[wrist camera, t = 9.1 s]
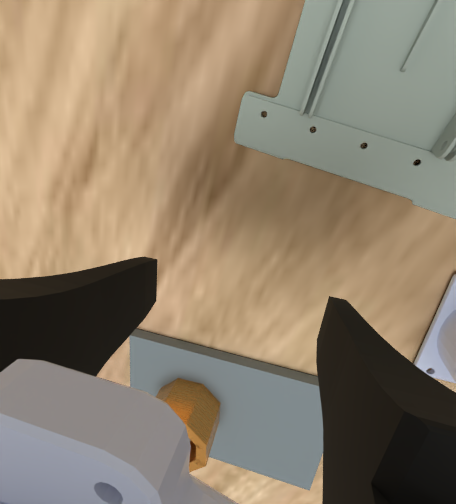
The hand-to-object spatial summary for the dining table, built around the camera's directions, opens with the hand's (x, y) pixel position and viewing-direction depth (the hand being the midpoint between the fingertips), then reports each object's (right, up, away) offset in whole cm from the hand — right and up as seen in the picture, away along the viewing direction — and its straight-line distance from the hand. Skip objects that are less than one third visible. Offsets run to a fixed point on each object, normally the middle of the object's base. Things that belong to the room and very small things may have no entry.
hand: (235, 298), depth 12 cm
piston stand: (-1, -12, +15) cm, 19 cm away
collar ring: (-4, -12, +15) cm, 19 cm away
